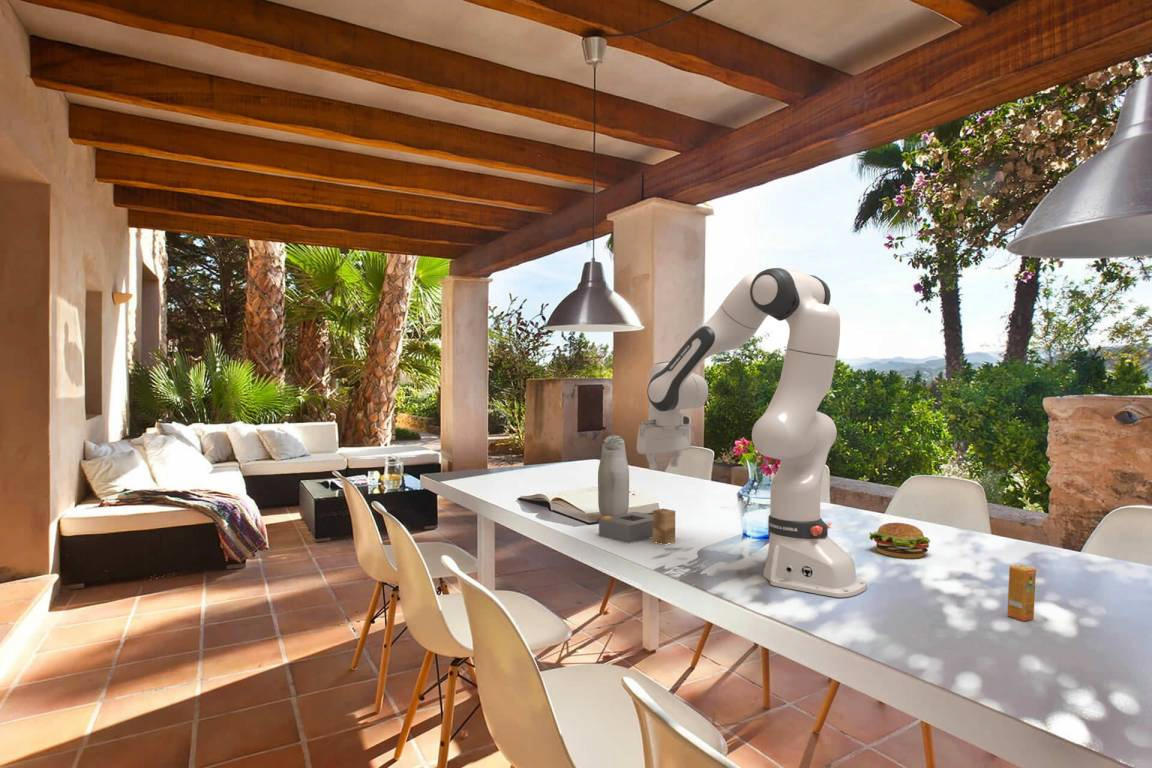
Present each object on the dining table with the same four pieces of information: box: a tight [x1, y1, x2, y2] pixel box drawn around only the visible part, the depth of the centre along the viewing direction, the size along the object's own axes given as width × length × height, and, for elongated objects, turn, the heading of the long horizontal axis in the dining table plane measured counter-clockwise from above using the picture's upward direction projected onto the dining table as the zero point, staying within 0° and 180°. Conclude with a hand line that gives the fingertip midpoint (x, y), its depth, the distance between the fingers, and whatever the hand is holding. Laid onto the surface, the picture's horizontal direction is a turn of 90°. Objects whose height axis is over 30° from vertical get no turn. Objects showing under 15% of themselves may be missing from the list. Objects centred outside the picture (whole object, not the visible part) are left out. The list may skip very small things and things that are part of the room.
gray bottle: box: [597, 434, 630, 518], centre depth 214 cm, size 10×10×28 cm
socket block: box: [598, 511, 653, 544], centre depth 195 cm, size 12×16×6 cm
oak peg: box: [652, 508, 676, 545], centre depth 186 cm, size 4×4×9 cm
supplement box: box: [1007, 563, 1037, 622], centre depth 127 cm, size 3×3×10 cm
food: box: [869, 522, 931, 559], centre depth 175 cm, size 14×14×8 cm
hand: (664, 468), depth 186 cm, fingers open, 8 cm apart
